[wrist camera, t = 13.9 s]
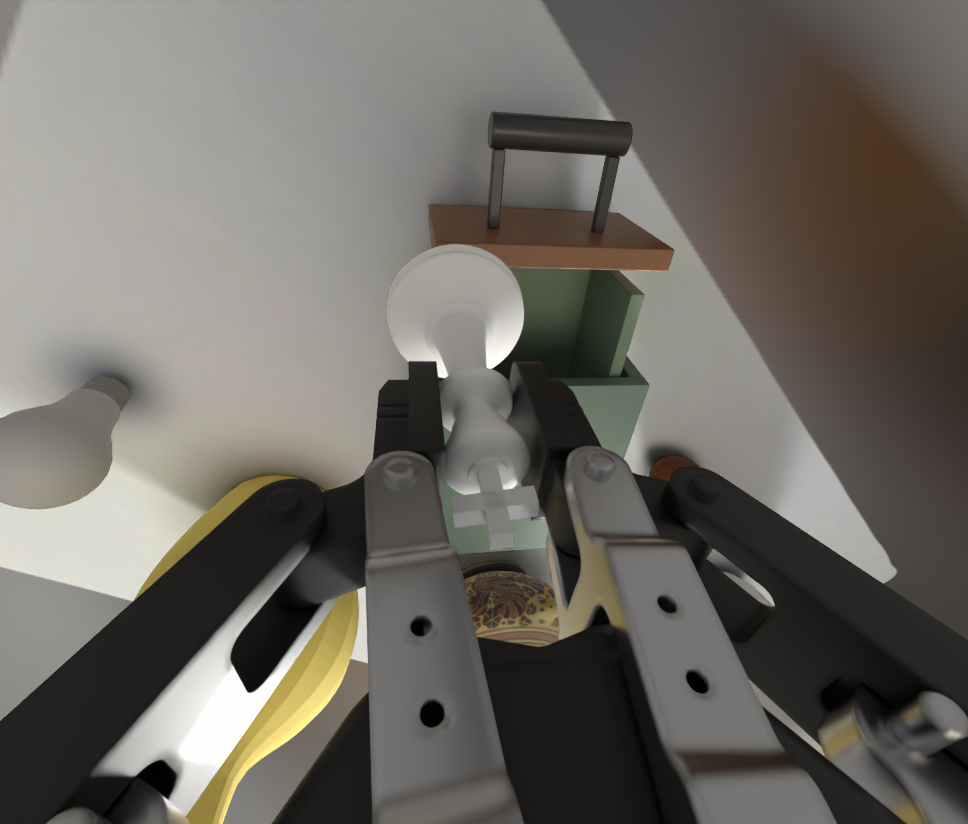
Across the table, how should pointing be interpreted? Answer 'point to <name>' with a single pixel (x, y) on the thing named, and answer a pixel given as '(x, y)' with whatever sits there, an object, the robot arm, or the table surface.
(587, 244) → the drawer
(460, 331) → the chess piece
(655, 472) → the potato
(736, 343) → the table surface
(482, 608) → the ceramic bowl
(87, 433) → the lightbulb
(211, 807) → the vase
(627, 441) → the cabinet
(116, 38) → the table surface
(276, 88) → the table surface
